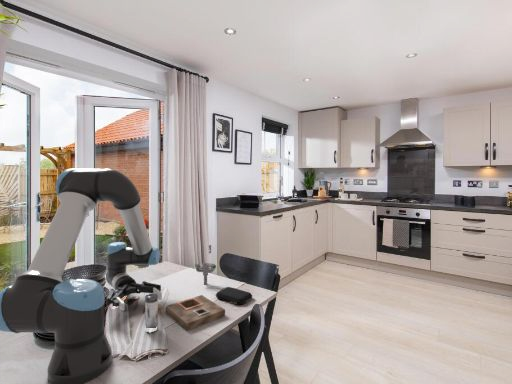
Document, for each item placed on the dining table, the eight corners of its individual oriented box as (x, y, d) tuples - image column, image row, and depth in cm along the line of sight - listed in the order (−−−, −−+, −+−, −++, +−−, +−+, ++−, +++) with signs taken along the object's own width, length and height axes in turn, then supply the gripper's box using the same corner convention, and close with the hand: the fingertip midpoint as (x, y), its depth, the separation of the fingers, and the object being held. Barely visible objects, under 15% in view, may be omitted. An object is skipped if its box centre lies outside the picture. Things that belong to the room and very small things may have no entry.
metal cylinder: (148, 334, 95) (147, 299, 95) (143, 329, 98) (143, 295, 98) (159, 330, 98) (159, 296, 97) (155, 325, 101) (154, 292, 100)
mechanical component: (196, 281, 142) (196, 262, 142) (216, 283, 140) (216, 263, 140) (194, 284, 140) (194, 264, 139) (214, 286, 138) (214, 265, 137)
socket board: (186, 330, 98) (186, 322, 98) (165, 312, 111) (165, 305, 111) (225, 315, 109) (225, 308, 109) (201, 300, 122) (201, 294, 121)
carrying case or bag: (212, 299, 123) (239, 308, 116) (212, 292, 123) (240, 301, 116) (227, 291, 133) (254, 299, 125) (227, 285, 132) (254, 292, 125)
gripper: (153, 285, 129) (174, 301, 113) (90, 301, 112) (105, 322, 96) (153, 269, 128) (174, 283, 113) (90, 282, 112) (105, 301, 96)
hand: (142, 301), depth 105 cm, fingers open, 13 cm apart
